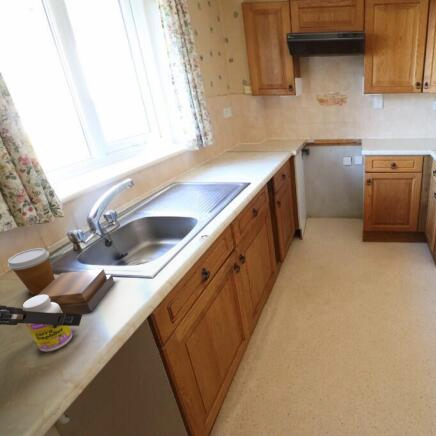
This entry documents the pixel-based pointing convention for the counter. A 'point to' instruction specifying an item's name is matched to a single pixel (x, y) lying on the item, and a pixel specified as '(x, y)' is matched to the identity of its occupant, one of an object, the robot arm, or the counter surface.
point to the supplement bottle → (46, 333)
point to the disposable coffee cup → (33, 269)
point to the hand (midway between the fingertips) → (60, 318)
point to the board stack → (78, 290)
